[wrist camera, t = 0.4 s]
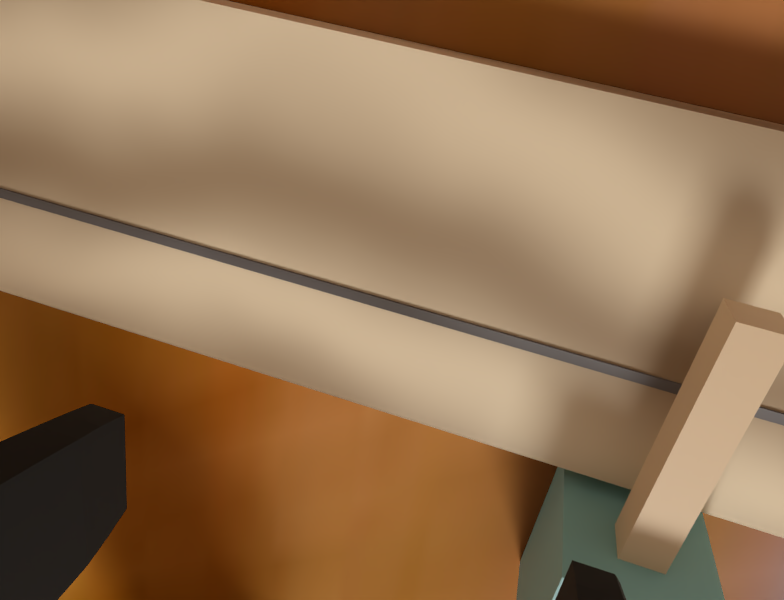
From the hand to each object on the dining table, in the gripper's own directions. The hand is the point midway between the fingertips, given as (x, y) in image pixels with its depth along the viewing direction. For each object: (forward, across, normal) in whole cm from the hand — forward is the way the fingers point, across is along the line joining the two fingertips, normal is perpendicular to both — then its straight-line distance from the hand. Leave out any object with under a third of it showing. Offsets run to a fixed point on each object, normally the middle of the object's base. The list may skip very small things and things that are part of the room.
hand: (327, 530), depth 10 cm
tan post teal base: (+10, -7, +3) cm, 12 cm away
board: (+10, +1, -1) cm, 10 cm away
